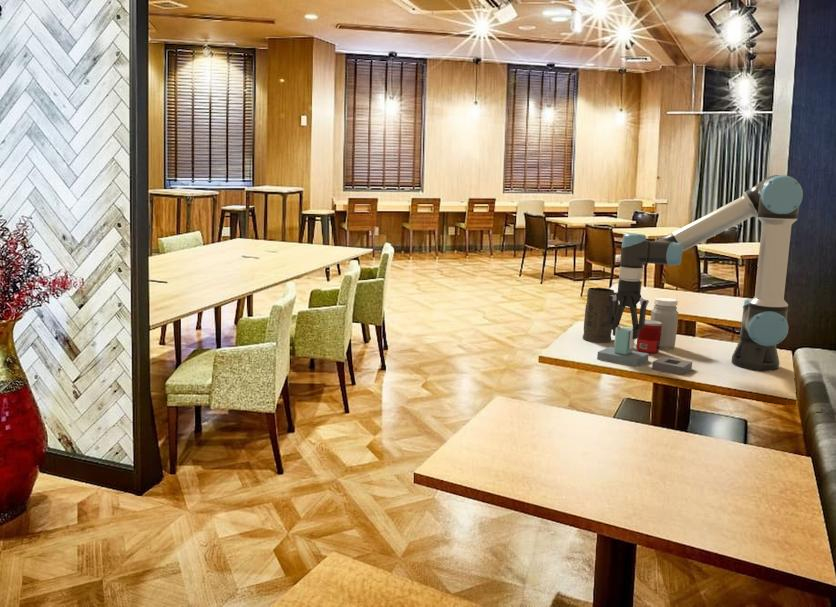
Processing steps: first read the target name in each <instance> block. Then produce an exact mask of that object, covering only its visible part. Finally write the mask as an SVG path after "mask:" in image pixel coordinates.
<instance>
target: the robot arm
mask: <svg viewBox="0 0 836 607" xmlns="http://www.w3.org/2000/svg"><path fill="white" fill-rule="evenodd" d="M803 194H804V191H803V187H802V186H801V184H800V183H799V181H798V180H797V179H795V178H794V177H792V176H789V175H785V174H780V175H779V174H777V175H770V176H768V177H765V178H764V179H763V180H761V181H760V182H759V183H756V185H754V186H753V187H751V188H749V189H747V190H745V191H743V193H742V195H741V196H740V197H739V198H737V199H735V200H732V201H730V202H729V203H726V204H724V205H723V206H721V207H718V209H715V210H713V211H711V212H709V213H707V214H706V215H704V216H702V217H699V218H698V219H696V220H694V221H692V222H690V223H688V224H687V225H684V226H683V227H680V228H679V229H677V230H675V231H673V232H671V233H670V234H669V233H668V234H667V235H665V236H664V237H660V238H658V239H656V240H647V237H646V234H643V233H629V232H628V233H625V234H623V236H622V242H621V250H620V251H621V252H620V264H619V274H618V278H619V280H618V285H617V292H616V293H617V294H616V295H611V296H609V297H608V298H609V302H610V305H609V318H608V323H609V324H611V325H613V330H612V336H613V337H614V342H613V347H615V343H616V332H617V329H619V328H622V326H620V323H621V320H622V316H623V313H624V311H625V308H626V307H628V308H629V311H630V316H631V323H632V324H631V325H632V329H631V330H630V341H629V349H632V348H633V349H634V348H635V340H637V337H638V330H639V329H642V328H644V324H645V320H646V316H647V307H648V304H649V299H644V298H643V297H642V295H641V292H642V291H641V290H642V283H643V282H642V281H641V280H643V270H644V264H652V265H653V264H654V265H655V264H656V265H664V266H665V265H667V266H679V265H681V263H682V258H683V257H682V256H683V253H684V252H685V251H688V250H689V249H691V248H693V247H695V246H697V245H699V244H700V243H703V242H705V241H706V240H708V239H711V238H713V237H714V236H717V235H720V234H721V233H723V232H725V231H726V230H729V229H730V228H733V227H734V226H736V225H739V224H741V223H742V222H744V221H747V220H749V219H750V218H753V217H754V218H757V219H758V220H759V221H760V222H761V230H760V239H759V240H760V241H759V252H758V261H757V271H756V280H755V282H756V283H755V291H754V296H753V298H746V299H745V300H744V302H743V305H742V317H741V325H740V333H739V341H738V342H737V344H736V345H737V346H736V347H735V349H734V351H733V354H732V355H731V364H733V365H735V366H737V367H740V368H744V369H749V370H753V371H765V370H767V371H769V370H771V371H777V370H779V368H780V358H779V353H778V349H777V345H778V344H780V343H781V342H783V341H784V340H785V339H786V338H787V336H788V333H789V323H788V312H789V311H788V310H789V304H788V302H786V300H785V299H784V298H785V290H786V281H787V280H786V279H787V273H788V272H787V270H788V263H789V254H790V243H791V234H792V225H793V224H794V223H795V222H796V221H798V219H799V218H798V217H799V209H800V206H801V203H802V202H803ZM616 299H618V301H619V306H618V311H617V314H616V317H615V305H616ZM638 304H640V308H639V317H638V311H637V309H638ZM614 317H615V320H614ZM633 349H632V350H633Z"/></svg>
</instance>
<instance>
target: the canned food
mask: <svg viewBox="0 0 836 607" xmlns="http://www.w3.org/2000/svg"><path fill="white" fill-rule="evenodd" d="M661 329H662V323H661V322H659V321H654V320H651V319H645V324H644V328H642V329H639V330H638V337H637V339H636V348H635V349H636V351H637V352H643V353H648V354H649V355H656V354H658V353H659V352H660V349H659V348H660V338H661Z"/></svg>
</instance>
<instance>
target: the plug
mask: <svg viewBox="0 0 836 607" xmlns="http://www.w3.org/2000/svg"><path fill="white" fill-rule="evenodd" d="M631 329H633V327H632V328H631V327H624V326H621V328H619V329H617V332H616V343H615V346H614V347H615V353H617V354H623V355H628V354H630V352H632V351H633V349H634V348H632V349H629V341H630V330H631Z"/></svg>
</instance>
